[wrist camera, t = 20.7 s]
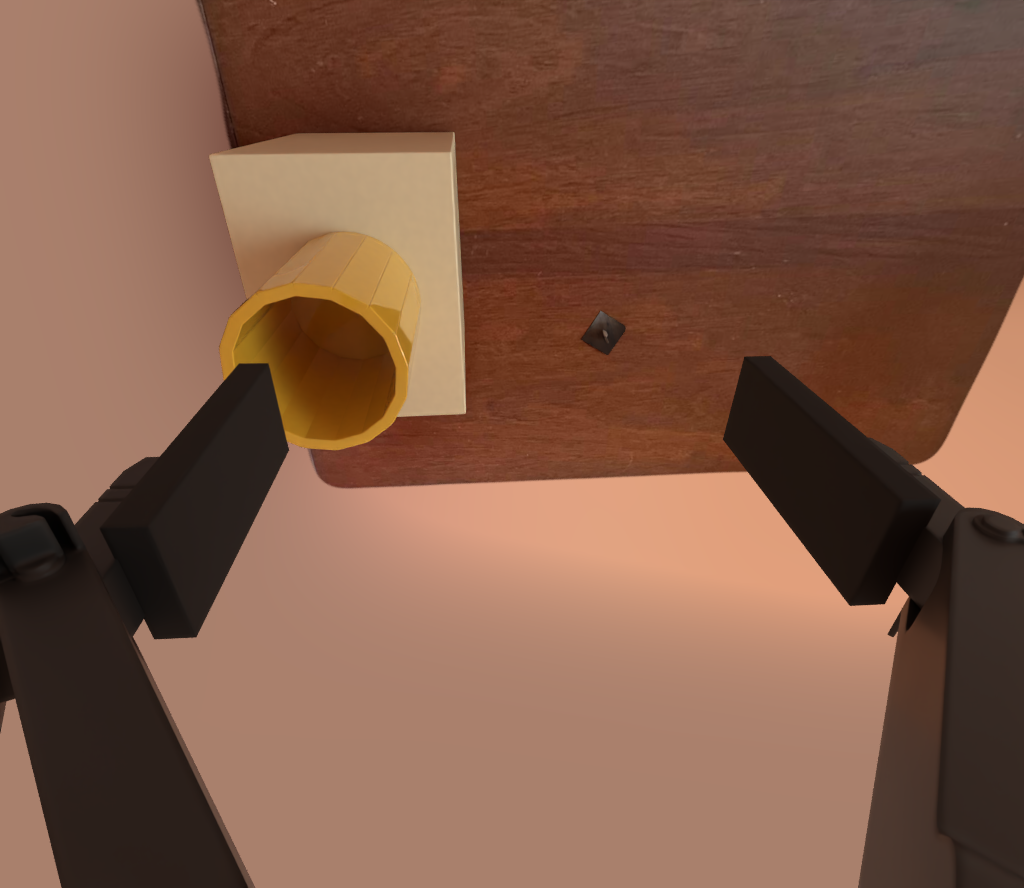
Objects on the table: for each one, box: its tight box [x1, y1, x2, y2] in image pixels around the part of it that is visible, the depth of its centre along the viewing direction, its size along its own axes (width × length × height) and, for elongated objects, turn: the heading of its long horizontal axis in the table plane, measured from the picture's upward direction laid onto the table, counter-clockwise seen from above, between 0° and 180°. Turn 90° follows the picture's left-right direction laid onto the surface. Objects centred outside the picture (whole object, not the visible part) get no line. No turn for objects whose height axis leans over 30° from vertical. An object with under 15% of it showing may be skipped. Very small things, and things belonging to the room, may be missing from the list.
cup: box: [219, 231, 421, 450], centre depth 25 cm, size 7×7×9 cm
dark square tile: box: [581, 311, 626, 355], centre depth 48 cm, size 3×3×1 cm
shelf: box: [209, 132, 466, 417], centre depth 36 cm, size 14×11×16 cm
